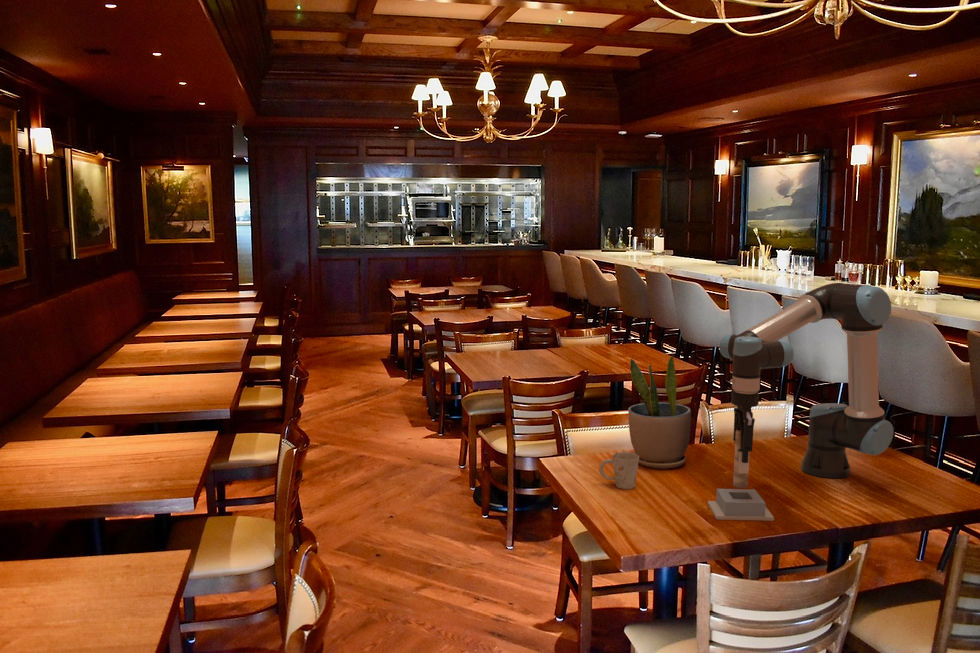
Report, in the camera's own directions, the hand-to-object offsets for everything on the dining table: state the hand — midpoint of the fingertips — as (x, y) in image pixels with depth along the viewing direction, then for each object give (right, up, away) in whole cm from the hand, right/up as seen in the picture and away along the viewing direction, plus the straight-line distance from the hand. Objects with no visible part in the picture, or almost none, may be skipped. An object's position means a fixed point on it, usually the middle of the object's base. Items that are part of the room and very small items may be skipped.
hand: (741, 470), depth 229 cm
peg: (0, -5, +1) cm, 5 cm away
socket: (0, -13, +2) cm, 13 cm away
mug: (-31, -10, +25) cm, 41 cm away
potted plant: (-14, -6, +48) cm, 50 cm away
